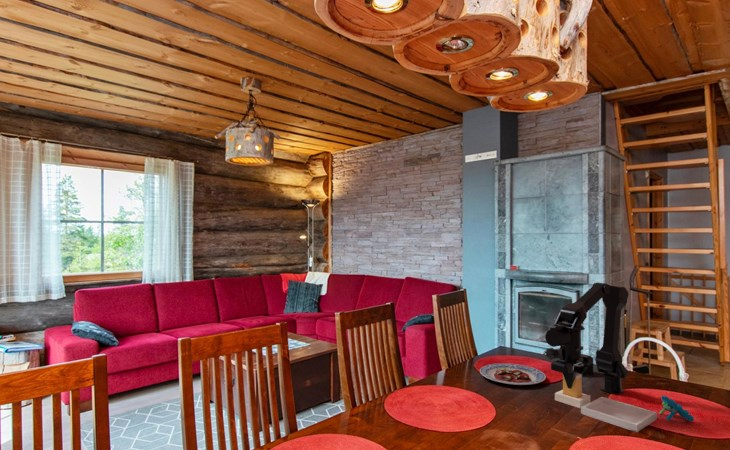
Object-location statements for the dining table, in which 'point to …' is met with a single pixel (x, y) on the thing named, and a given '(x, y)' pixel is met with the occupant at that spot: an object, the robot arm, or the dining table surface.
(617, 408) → the parts tray
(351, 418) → the dining table surface
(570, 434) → the dining table surface
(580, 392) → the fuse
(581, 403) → the white shallow boxy piece
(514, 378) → the ceramic plate
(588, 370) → the digital camera
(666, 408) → the blue toy water gun
